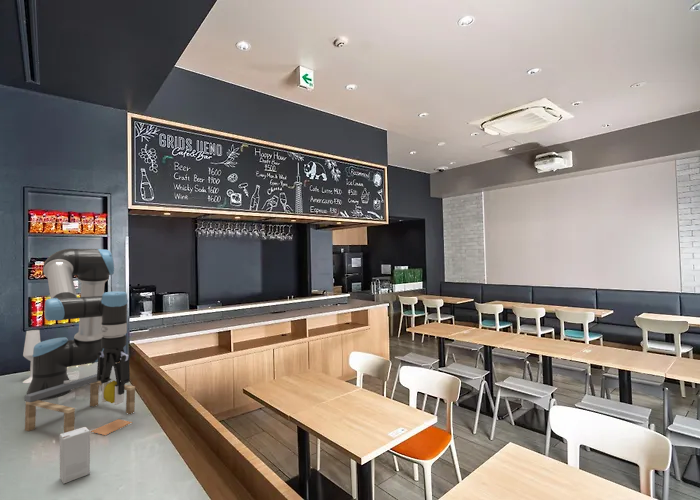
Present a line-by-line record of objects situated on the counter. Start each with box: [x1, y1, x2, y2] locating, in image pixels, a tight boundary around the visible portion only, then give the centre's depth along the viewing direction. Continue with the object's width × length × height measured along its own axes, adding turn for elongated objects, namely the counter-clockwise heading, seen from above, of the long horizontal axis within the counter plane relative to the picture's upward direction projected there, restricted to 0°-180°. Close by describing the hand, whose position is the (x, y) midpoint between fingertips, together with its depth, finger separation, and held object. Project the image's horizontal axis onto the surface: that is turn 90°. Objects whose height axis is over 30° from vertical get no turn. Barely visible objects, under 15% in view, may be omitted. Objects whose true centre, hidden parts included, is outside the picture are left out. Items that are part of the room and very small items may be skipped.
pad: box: [90, 418, 133, 436], centre depth 127 cm, size 7×10×1 cm
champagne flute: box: [22, 329, 41, 384], centre depth 176 cm, size 7×7×24 cm
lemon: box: [104, 380, 117, 404], centre depth 128 cm, size 6×6×8 cm
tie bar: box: [24, 373, 102, 403], centre depth 136 cm, size 3×25×3 cm, turn 160°
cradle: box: [24, 381, 136, 433], centre depth 133 cm, size 22×24×10 cm
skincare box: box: [59, 426, 91, 484], centre depth 99 cm, size 6×4×12 cm
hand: (112, 402), depth 127 cm, fingers closed on lemon, 6 cm apart
